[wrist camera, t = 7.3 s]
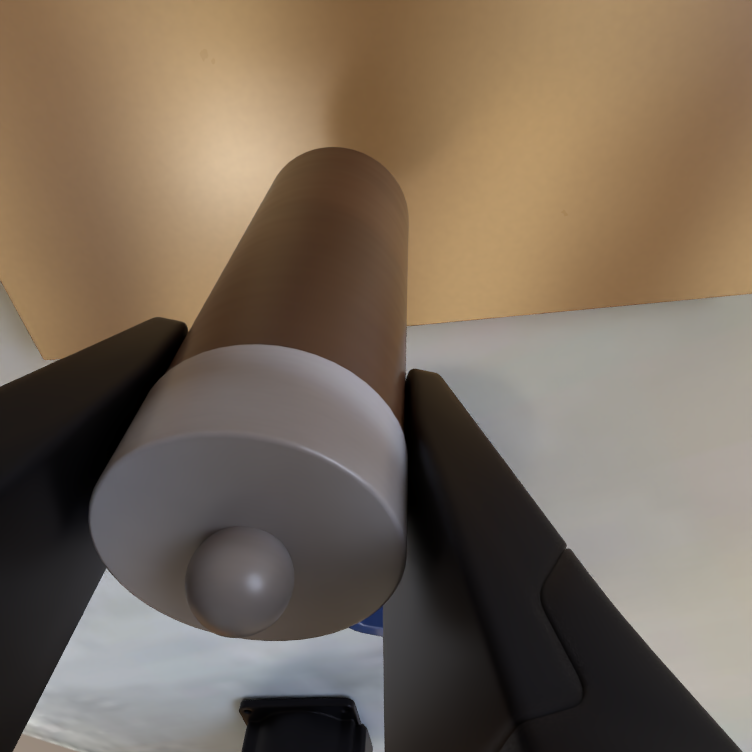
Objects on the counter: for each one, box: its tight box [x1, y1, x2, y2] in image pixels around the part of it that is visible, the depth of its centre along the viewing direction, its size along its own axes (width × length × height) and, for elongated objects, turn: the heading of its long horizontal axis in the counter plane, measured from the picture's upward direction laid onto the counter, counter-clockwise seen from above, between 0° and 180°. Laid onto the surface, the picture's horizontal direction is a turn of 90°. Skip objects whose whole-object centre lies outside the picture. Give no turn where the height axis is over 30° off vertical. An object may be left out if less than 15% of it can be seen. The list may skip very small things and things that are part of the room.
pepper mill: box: [88, 147, 409, 641], centre depth 9 cm, size 3×3×9 cm
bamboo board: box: [0, 0, 752, 360], centre depth 15 cm, size 22×14×1 cm, turn 98°
